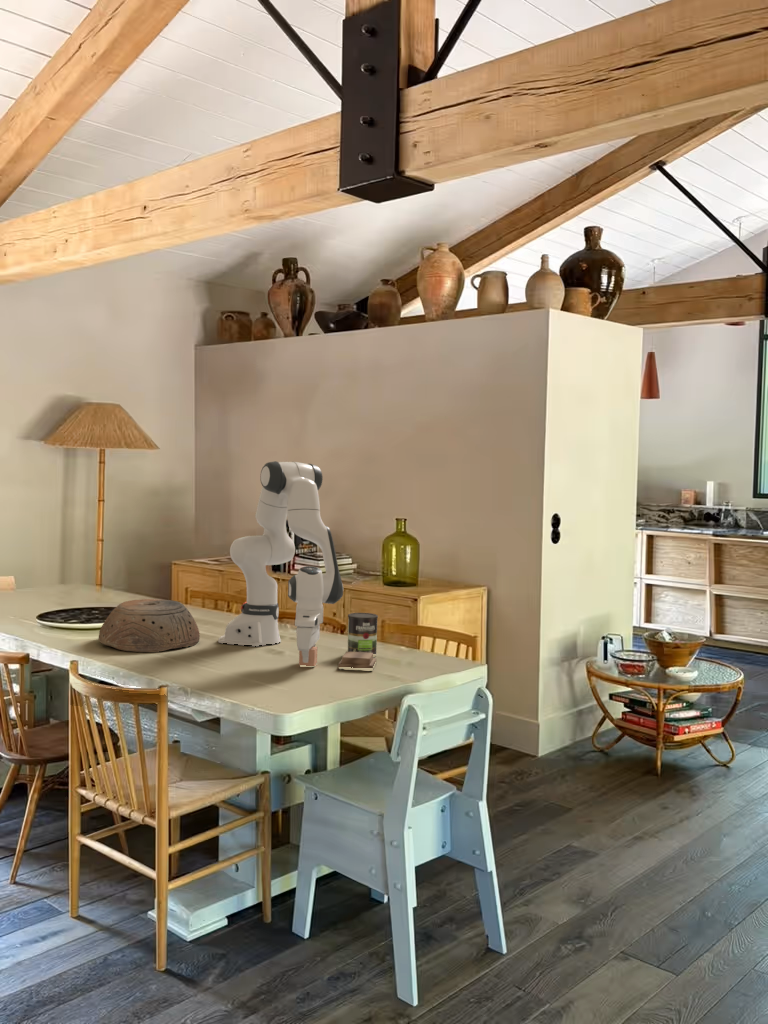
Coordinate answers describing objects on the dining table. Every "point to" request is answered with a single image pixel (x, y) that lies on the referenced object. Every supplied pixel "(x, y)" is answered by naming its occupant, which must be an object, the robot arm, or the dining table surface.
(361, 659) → the plinth
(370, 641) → the coffee can
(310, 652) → the block
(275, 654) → the dining table surface
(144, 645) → the ceramic artifact
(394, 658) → the dining table surface
